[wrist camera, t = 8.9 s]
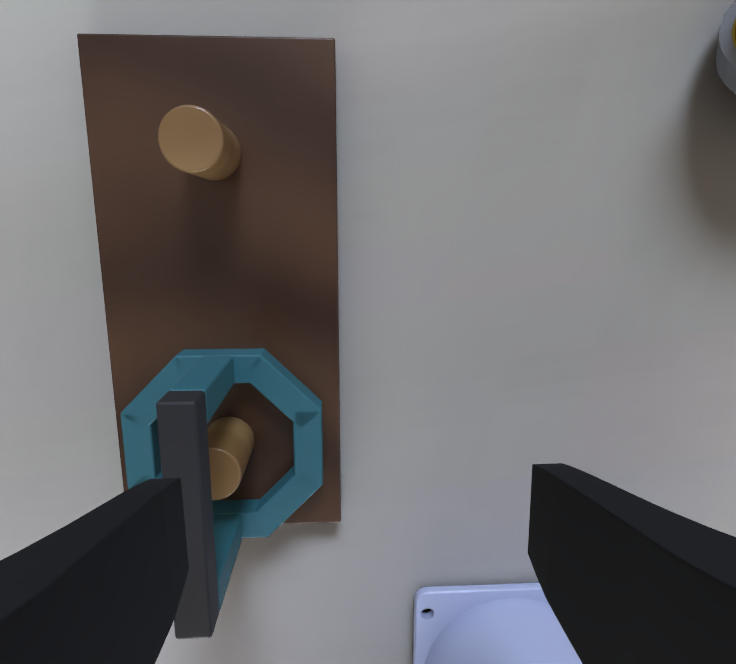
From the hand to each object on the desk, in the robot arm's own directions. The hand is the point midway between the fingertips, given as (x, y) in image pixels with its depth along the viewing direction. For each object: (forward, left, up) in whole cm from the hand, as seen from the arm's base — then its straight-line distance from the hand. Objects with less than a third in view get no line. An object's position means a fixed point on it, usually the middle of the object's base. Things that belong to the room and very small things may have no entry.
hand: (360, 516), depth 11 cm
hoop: (-2, +4, -9) cm, 10 cm away
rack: (+3, +4, -10) cm, 11 cm away
